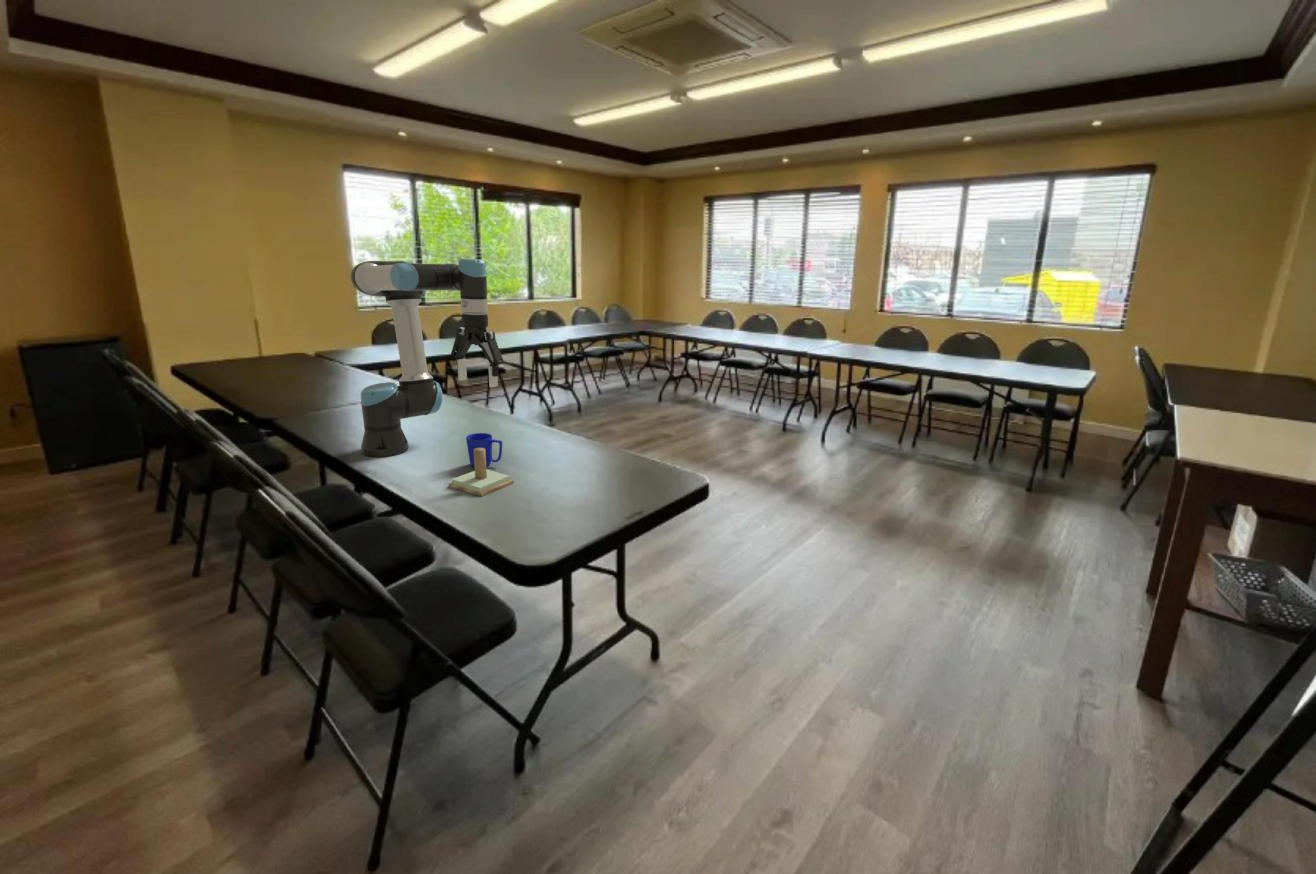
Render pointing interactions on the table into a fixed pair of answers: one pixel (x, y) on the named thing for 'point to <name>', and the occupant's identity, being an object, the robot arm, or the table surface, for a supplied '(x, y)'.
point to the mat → (483, 491)
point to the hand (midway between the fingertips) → (477, 383)
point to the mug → (482, 446)
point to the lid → (480, 475)
